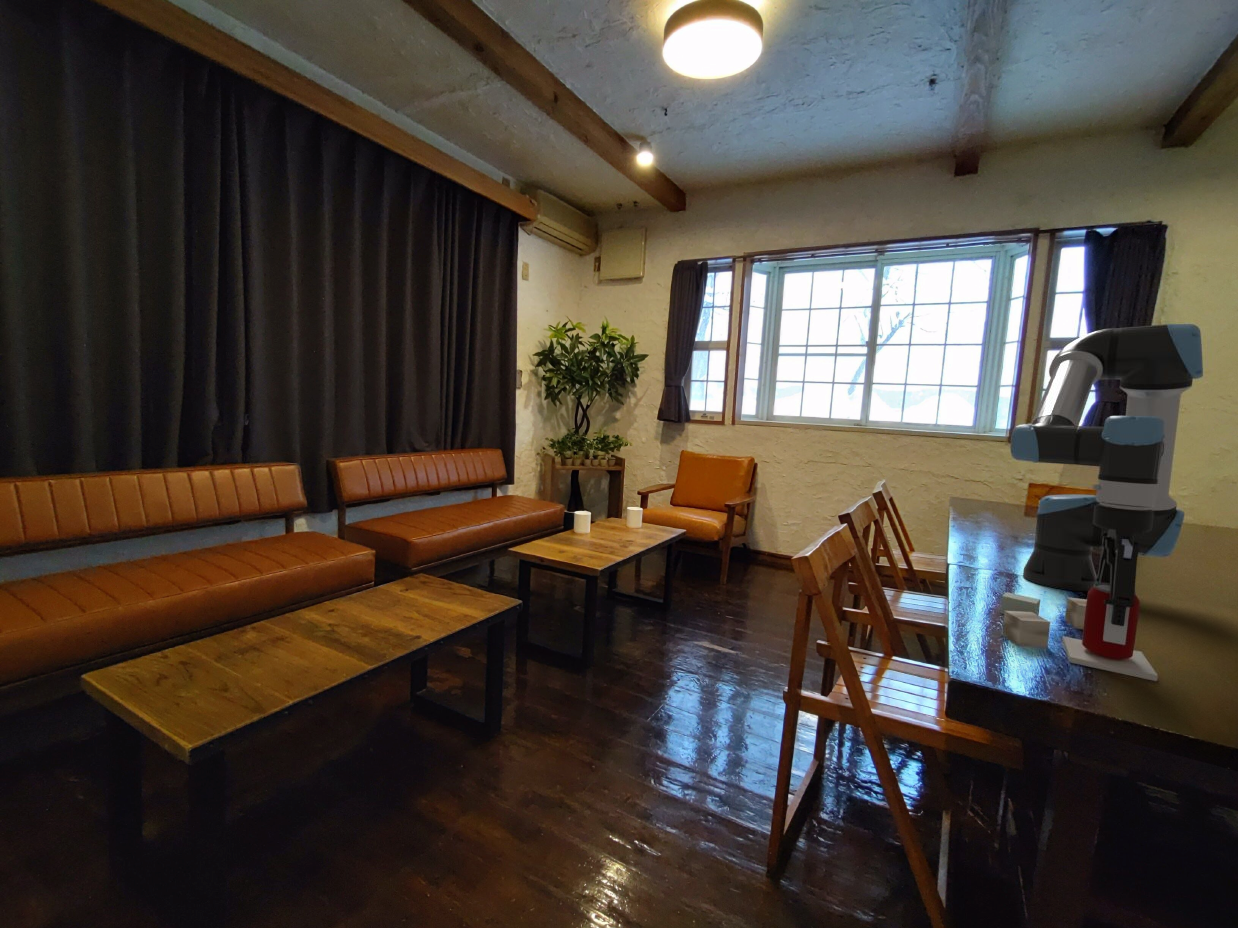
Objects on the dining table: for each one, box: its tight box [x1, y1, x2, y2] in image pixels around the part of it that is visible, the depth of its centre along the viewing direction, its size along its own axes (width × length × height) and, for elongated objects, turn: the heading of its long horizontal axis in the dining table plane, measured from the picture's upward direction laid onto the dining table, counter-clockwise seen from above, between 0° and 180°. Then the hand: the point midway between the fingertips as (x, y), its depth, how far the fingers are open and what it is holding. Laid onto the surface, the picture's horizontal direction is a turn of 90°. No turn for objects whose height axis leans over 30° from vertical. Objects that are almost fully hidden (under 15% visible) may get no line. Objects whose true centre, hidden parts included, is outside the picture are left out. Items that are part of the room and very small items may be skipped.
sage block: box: [1000, 591, 1041, 616], centre depth 117 cm, size 4×6×4 cm, turn 43°
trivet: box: [1061, 635, 1159, 682], centre depth 95 cm, size 11×11×1 cm
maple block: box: [1002, 611, 1051, 649], centre depth 102 cm, size 5×5×5 cm
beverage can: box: [1081, 583, 1141, 660], centre depth 95 cm, size 7×7×12 cm
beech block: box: [1064, 596, 1087, 630], centre depth 111 cm, size 5×5×5 cm
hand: (1108, 633), depth 95 cm, fingers open, 8 cm apart
